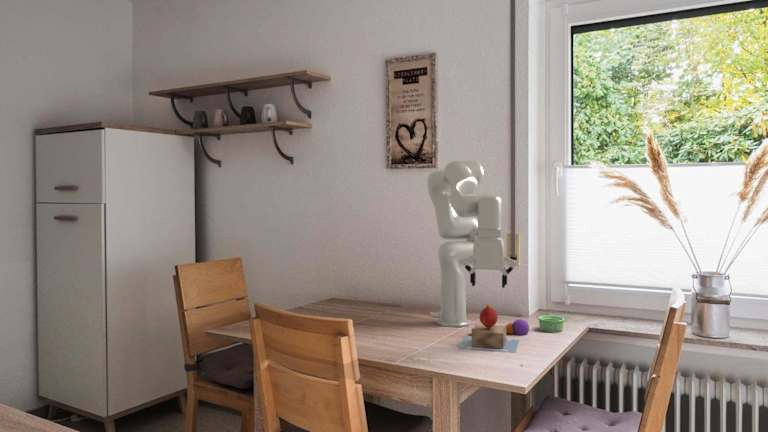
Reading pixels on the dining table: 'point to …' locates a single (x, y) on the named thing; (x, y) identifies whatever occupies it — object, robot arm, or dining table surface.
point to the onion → (488, 317)
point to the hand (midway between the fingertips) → (488, 286)
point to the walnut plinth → (489, 337)
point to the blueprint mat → (509, 347)
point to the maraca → (517, 327)
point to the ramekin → (551, 323)
